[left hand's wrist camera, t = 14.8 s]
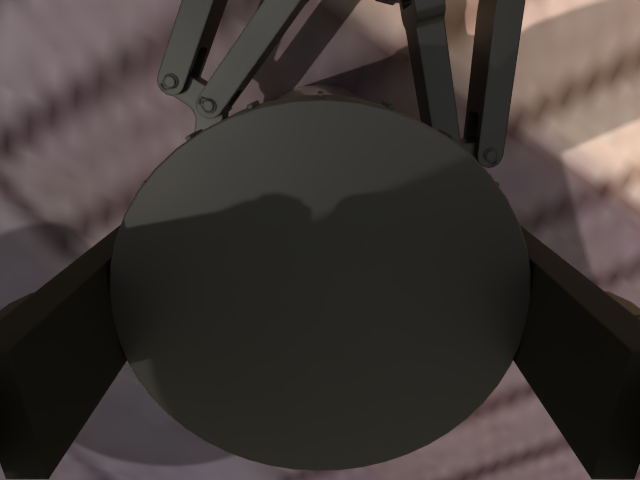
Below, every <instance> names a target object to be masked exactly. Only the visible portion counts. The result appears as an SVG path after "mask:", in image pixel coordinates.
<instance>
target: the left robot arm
mask: <svg viewBox="0 0 640 480" xmlns="http://www.w3.org/2000/svg"><path fill="white" fill-rule="evenodd" d="M120 226H121V225H120ZM120 226H119V227H117V228H116V229H115V230H114V231H112V232H111V233H110V234H108V235H107V236H106V237H105V238H103V239H102V240H101V241H100V242H98V243H97V244H96V245H95V246H93V247H92V248H91V249H89V250H88V251H87V252H86V253H84V254H83V255H82V256H81V257H79V258H78V259H77V260H75V261H74V262H73V263H72V264H70V265H69V266H68V267H67V268H65V269H64V270H63V271H61V272H60V273H59V274H58V275H56V276H55V277H54V278H53V279H51V280H50V281H49V282H48V283H46V284H45V285H44V286H42V287H41V288H40V289H39V290H37V291H36V292H35V293H31V294H29V295H27V296H25V297H23V298H21V299H18V300H16V301H14V302H12V303H10V304H8V305H7V306H6V307H4V308H3V309H2V310H0V463H1V466H2V469H3V472H4V474H5V477H6V479H49V477H50V476H51V474H52V473H53V471H54V470H55V468H56V467H57V465H58V464H59V462H60V461H61V459H62V458H63V456H64V455H65V453H66V452H67V450H68V449H69V447H70V446H71V444H72V443H73V441H74V440H75V438H76V437H77V435H78V434H79V432H80V431H81V429H82V427H83V426H84V424H85V423H86V421H87V420H88V418H89V417H90V415H91V414H92V412H93V411H94V409H95V408H96V406H97V405H98V403H99V402H100V400H101V399H102V397H103V396H104V394H105V393H106V391H107V390H108V388H109V387H110V385H111V384H112V382H113V381H114V379H115V378H116V376H117V375H118V373H119V371H120V370H121V368H122V367H123V365H124V364H125V362H126V361H127V359H126V356H125V354H124V351H123V349H122V347H121V344H120V342H119V339H118V336H117V332H116V327H115V322H114V317H113V312H112V307H111V301H110V292H109V285H110V265H111V259H112V255H113V250H114V245H115V240H116V237H117V234H118V232H119V229H120ZM520 227H521V231H522V234H523V237H524V240H525V243H526V246H527V252H528V258H529V265H530V271H531V297H530V303H529V308H528V313H527V319H526V324H525V328H524V333H523V336H522V340H521V343H520V346H519V348H518V350H517V352H516V354H515V356H514V359H513V360H514V362H515V364H516V365H517V367H518V368H519V370H520V371H521V373H522V374H523V376H524V377H525V379H526V380H527V382H528V383H529V385H530V386H531V388H532V389H533V391H534V392H535V394H536V395H537V397H538V398H539V400H540V401H541V403H542V404H543V406H544V407H545V409H546V410H547V412H548V413H549V415H550V416H551V418H552V420H553V421H554V423H555V424H556V426H557V427H558V429H559V430H560V432H561V433H562V435H563V436H564V438H565V439H566V441H567V442H568V444H569V445H570V447H571V448H572V450H573V451H574V453H575V454H576V456H577V457H578V459H579V460H580V462H581V463H582V465H583V466H584V468H585V469H586V471H587V472H588V474H589V476H590V477H591V479H634V478H635V475H636V473H637V470H638V467H639V464H640V308H639V307H637V306H636V305H635V304H633V303H632V302H630V301H628V300H626V299H624V298H621V297H619V296H617V295H615V294H613V293H611V292H609V291H603V290H602V289H600V288H599V287H598V286H597V285H595V284H594V283H593V282H592V281H590V280H589V279H588V278H586V277H585V276H584V275H583V274H581V273H580V272H579V271H578V270H576V269H575V268H574V267H572V266H571V265H570V264H569V263H567V262H566V261H565V260H564V259H562V258H561V257H560V256H558V255H557V254H556V253H555V252H553V251H552V250H551V249H550V248H548V247H547V246H546V245H545V244H543V243H542V242H541V241H539V240H538V239H537V238H536V237H534V236H533V235H532V234H531V233H529V232H528V231H527V230H525V229H524V228H523V227H522V226H520Z"/></svg>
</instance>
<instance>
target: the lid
mask: <svg viewBox="0 0 640 480" xmlns="http://www.w3.org/2000/svg"><path fill="white" fill-rule="evenodd" d="M455 139H456V138H455V137H453V136H452V135H450V134H448V133H446V132H444V131H442V130H440V129H439V130H438V131H437V130H435V129H433V128H432V127H430V126H428V125H426V124H424V123H423V122H421V121H419V120H417V119H415V118H413V117H411V116H410V115H408V114H406V113H403V112H401V111H398V110H396V109H394V105H392V104H390V103H388V102H386V101H383V102H382V104H380V103H376V102H371V101H367V100H363V99H359V98H354V97H346V96H335V95H323V91H318V95H305V96H293V97H288V98H283V99H277V100H272V101H268V102H265V103H262V104H259V101H254V102H252V103H250V104H248V105H247V109H244V110H241V111H239V112H237V113H235V114H233V115H231V116H229V117H228V118H226V119H224V120H222V121H220V122H218V123H216V124H214V125H212V126H210V127H208V128H206V129H204V130H202V129H200V130H198V131H196V132H194V133H192V134H190V135H188V136H187V137H186V140H187V142H185V143H184V144H182V145H181V146H179V147H178V148H177V149H176V150H175V151H174V152H173V153H171V154H170V155H169V156H168V157H167V158H166V159H165V160H164V161H163V162H162V163H161V164H160V165H159V166H158V167H157V168H156V169H155V170H154V171H153V172H152V174H151V175H150V176H149V178H148V179H147V180H145V181H144V182H143V183H142V186H141V188H140V189H139V190H138V192H137V194H136V196H135V197H134V199H133V201H132V203H131V204H130V206H129V208H128V210H127V212H126V213H125V216H124V218H123V221H122V224H121V226H120V229H119V232H118V234H117V237H116V240H115V245H114V250H113V255H112V259H111V265H110V285H109V292H110V301H111V307H112V312H113V317H114V322H115V327H116V332H117V336H118V339H119V342H120V344H121V347H122V349H123V351H124V354H125V356H126V359H127V361H128V362H129V364H130V366H131V368H132V369H133V371H134V373H135V374H136V376H137V378H138V380H139V381H140V382H141V383H142V385H143V386H144V387H145V389H146V390H147V391H148V393H149V394H150V395H151V397H152V398H153V399H154V400H155V401H156V402H157V403H158V404H159V405H160V406H161V407H162V408H163V409H164V410H165V411H166V412H167V413H168V414H169V415H170V416H171V417H173V418H174V419H175V420H176V421H177V422H179V423H180V424H181V425H182V426H184V427H185V428H186V429H188V430H189V431H191V432H192V433H194V434H195V435H197V436H199V437H200V438H202V439H203V440H205V441H206V442H208V443H210V444H212V445H214V446H216V447H218V448H220V449H222V450H224V451H226V452H229V453H232V454H234V455H237V456H240V457H242V458H245V459H248V460H251V461H255V462H259V463H263V464H266V465H270V466H276V467H282V468H288V469H297V470H312V471H324V470H343V469H351V468H359V467H365V466H369V465H373V464H378V463H382V462H386V461H389V460H392V459H395V458H398V457H401V456H403V455H406V454H409V453H411V452H413V451H415V450H417V449H420V448H422V447H424V446H426V445H428V444H430V443H432V442H433V441H435V440H437V439H438V438H440V437H442V436H443V435H445V434H447V433H448V432H450V431H451V430H452V429H454V428H455V427H456V426H458V425H459V424H460V423H462V422H463V421H464V420H466V419H467V418H468V417H469V416H470V415H471V414H472V413H473V412H474V411H475V410H476V409H477V408H478V407H479V406H480V405H482V404H483V403H484V401H485V400H486V399H487V398H488V397H489V395H490V394H491V393H492V392H493V390H494V389H495V388H496V387H497V386H498V384H499V383H500V381H501V379H502V378H503V376H504V375H505V373H506V372H507V370H508V368H509V367H510V365H511V363H512V361H513V359H514V356H515V354H516V352H517V350H518V348H519V346H520V343H521V340H522V336H523V333H524V328H525V324H526V319H527V313H528V308H529V303H530V297H531V271H530V265H529V258H528V252H527V246H526V243H525V240H524V237H523V234H522V231H521V227H520V224H519V221H518V219H517V217H516V215H515V213H514V211H513V209H512V207H511V205H510V203H509V201H508V199H507V198H506V196H505V195H504V193H503V192H502V191H501V189H500V188H499V184H498V183H497V182H496V181H494V179H493V178H492V176H491V175H490V174H489V173H488V172H487V171H486V170H485V169H484V168H483V167H482V166H481V165H480V164H479V163H478V162H477V161H476V159H475V158H474V157H473V156H472V155H471V154H470V153H468V152H467V151H466V150H464V149H463V148H462V147H460V146H459V145H458V144H456V143H455V142H454V140H455Z"/></svg>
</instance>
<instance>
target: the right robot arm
mask: <svg viewBox="0 0 640 480" xmlns="http://www.w3.org/2000/svg"><path fill="white" fill-rule="evenodd" d="M227 1H228V0H182V2H181V5H180V8H179V11H178V14H177V17H176V20H175V23H174V27H173V30H172V33H171V36H170V39H169V42H168V45H167V48H166V51H165V54H164V57H163V61H162V64H161V67H160V70H159V73H158V77H157V82H158V86H159V88H160V89H161V91H162V92H164V93H165V94H167V95H171V96H174V97H176V98H177V99H179V100H180V101H182V102H184V103H185V104H187V105H188V106H189V107H190V108H191V109H192V110H193V112H194V114H195V118H196V125H195V132H196V131H198V130H200V129H202V130H204V129H206V128H208V127H210V126H212V125H214V124H216V123H218V122H220V121H222V120H224V119H226V118H228V113H229V111H230V110H231V109H232V108H231V107H232V106H233V104H234V103H235V101H236V100H237V99H238V97H239V96H240V95H241V93H242V92H243V90H244V89H245V88H246V86H247V85H248V83H249V82H250V81H251V79H252V78H253V76H254V75H255V74H256V72H257V71H258V69H259V68H260V67H261V65H262V64H263V62H264V61H265V60H266V58H267V57H268V56H269V54H270V53H271V51H272V50H273V49H274V47H275V46H276V44H277V43H278V42H279V40H280V39H281V37H282V36H283V35H284V33H285V32H286V30H287V29H288V28H289V26H290V25H291V24H292V22H293V21H294V19H295V18H296V17H297V15H298V14H299V12H300V11H301V10H302V8H303V7H304V6H305V4H306V3H307V2H308V1H309V0H264V1H263V2H262V4H261V5H260V7H259V8H258V10H257V11H256V13H255V14H254V16H253V17H252V18H251V20H250V21H249V23H248V24H247V26H246V27H245V29H244V30H243V32H242V33H241V34H240V36H239V37H238V39H237V40H236V42H235V43H234V45H233V46H232V48H231V49H230V51H229V52H228V53H227V55H226V56H225V58H224V59H223V61H222V62H221V64H220V65H219V67H218V68H217V69H216V71H215V72H214V74H213V75H212V77H211V78H210V80H209V81H208V82H207V81H206V80H204V79H203V78H201V74H202V71H203V68H204V65H205V63H206V60H207V57H208V54H209V51H210V49H211V46H212V43H213V40H214V37H215V35H216V32H217V29H218V26H219V24H220V21H221V18H222V15H223V12H224V10H225V7H226V4H227ZM376 1H378V2H382V3H386V4H390V5H394V4H395V3H399V4H400V10H401V16H402V21H403V25H404V27H405V30H406V34H407V40H408V46H409V52H410V58H411V64H412V70H413V76H414V82H415V89H416V95H417V101H418V107H419V113H420V119H421V122H423V123H424V124H426V125H428V126H430V127H432V128H433V129H435V130H437V131H438V130H439V129H440V130H442V131H444V132H446V133H448V134H450V135H452V136H453V137H455V138H456V139H455V140H454V142H455V143H456V144H458V145H459V146H460V147H462V148H463V149H464V150H466V151H467V152H468V153H470V154H471V155H472V156H473V157H474V158H475V159H476V161H477V162H478V163H479V164H480V165H481V166H483V167H487V168H491V167H494V166H496V165H498V164H499V162H500V161H501V160H502V157H503V152H504V145H505V138H506V131H507V124H508V117H509V110H510V103H511V96H512V89H513V82H514V75H515V68H516V61H517V54H518V47H519V40H520V33H521V26H522V19H523V13H524V6H525V0H479V4H478V10H477V18H476V27H475V37H474V46H473V55H472V64H471V73H470V83H469V92H468V101H467V110H466V119H465V128H464V138H463V139H460V133H459V126H458V118H457V111H456V104H455V96H454V89H453V81H452V74H451V67H450V59H449V52H448V44H447V37H446V30H445V22H444V15H445V0H376Z"/></svg>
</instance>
